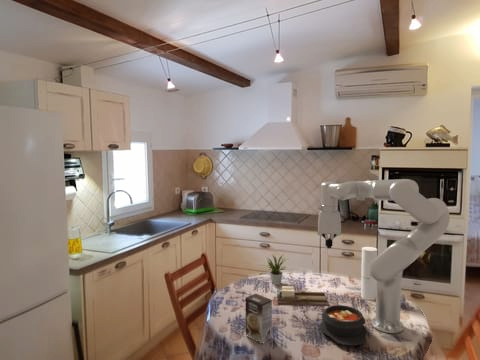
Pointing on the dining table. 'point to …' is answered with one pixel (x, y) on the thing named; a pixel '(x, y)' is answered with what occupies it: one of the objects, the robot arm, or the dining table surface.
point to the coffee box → (259, 317)
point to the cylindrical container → (368, 274)
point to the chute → (303, 298)
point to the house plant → (276, 270)
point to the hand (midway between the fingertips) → (328, 247)
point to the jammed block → (288, 292)
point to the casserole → (344, 325)
